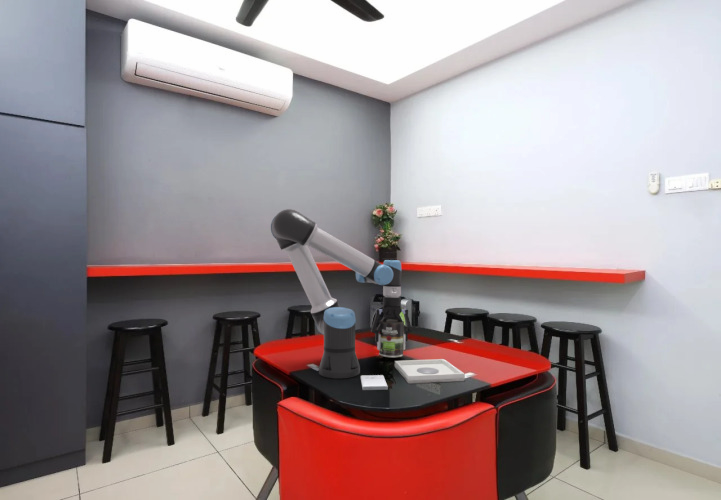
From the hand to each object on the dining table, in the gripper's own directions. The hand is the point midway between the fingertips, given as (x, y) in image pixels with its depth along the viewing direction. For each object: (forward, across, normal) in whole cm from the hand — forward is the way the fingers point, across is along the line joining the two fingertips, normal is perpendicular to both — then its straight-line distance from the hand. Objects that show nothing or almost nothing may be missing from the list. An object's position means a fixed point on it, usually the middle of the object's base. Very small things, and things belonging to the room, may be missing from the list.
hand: (391, 349), depth 166 cm
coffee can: (+2, 0, 0) cm, 2 cm away
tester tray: (+4, +8, -23) cm, 25 cm away
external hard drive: (+5, -13, -31) cm, 34 cm away
